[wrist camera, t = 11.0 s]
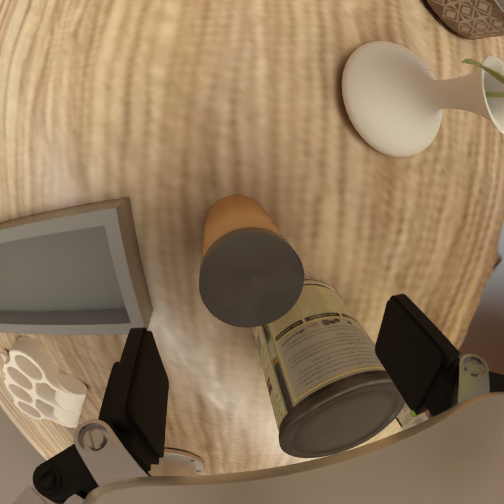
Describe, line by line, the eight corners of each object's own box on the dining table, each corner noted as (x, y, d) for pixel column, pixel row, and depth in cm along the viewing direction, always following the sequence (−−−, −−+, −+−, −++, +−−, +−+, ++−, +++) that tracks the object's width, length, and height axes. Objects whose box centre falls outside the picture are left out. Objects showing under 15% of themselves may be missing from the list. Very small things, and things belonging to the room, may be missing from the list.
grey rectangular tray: (152, 310, 27) (146, 333, 23) (-21, 313, 24) (-34, 328, 20) (129, 197, 22) (116, 208, 19) (-49, 237, 19) (-65, 248, 16)
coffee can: (354, 325, 31) (413, 414, 19) (279, 367, 32) (310, 467, 19) (323, 259, 27) (400, 356, 14) (233, 312, 28) (252, 433, 15)
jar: (269, 254, 26) (302, 320, 17) (206, 260, 26) (206, 332, 16) (268, 191, 24) (305, 229, 15) (199, 197, 23) (192, 240, 14)
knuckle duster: (78, 424, 34) (7, 385, 30) (94, 370, 30) (4, 317, 25) (74, 439, 31) (0, 398, 27) (87, 389, 27) (-8, 331, 22)
